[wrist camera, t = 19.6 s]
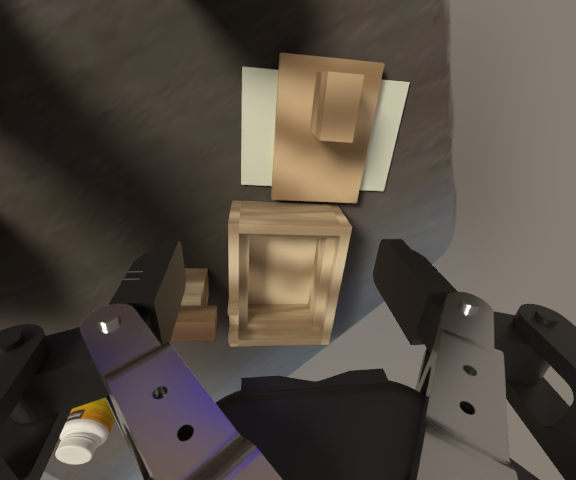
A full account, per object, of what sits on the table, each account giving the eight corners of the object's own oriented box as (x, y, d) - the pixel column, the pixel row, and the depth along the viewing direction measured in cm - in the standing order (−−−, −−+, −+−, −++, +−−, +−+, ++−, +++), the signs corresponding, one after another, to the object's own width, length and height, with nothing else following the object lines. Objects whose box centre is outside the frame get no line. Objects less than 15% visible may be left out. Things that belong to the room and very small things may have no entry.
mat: (242, 66, 28) (242, 66, 27) (407, 82, 30) (409, 82, 29) (241, 183, 33) (241, 184, 32) (382, 189, 35) (383, 191, 34)
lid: (279, 53, 27) (285, 47, 22) (379, 63, 28) (409, 60, 23) (271, 195, 33) (274, 219, 28) (353, 199, 35) (372, 222, 29)
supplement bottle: (105, 361, 43) (67, 436, 34) (137, 380, 46) (109, 454, 37) (80, 380, 44) (36, 457, 35) (113, 397, 47) (79, 473, 38)
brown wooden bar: (118, 305, 31) (101, 335, 28) (217, 305, 33) (212, 333, 29) (122, 324, 33) (106, 355, 29) (217, 323, 34) (213, 352, 30)
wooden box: (175, 198, 33) (154, 231, 26) (337, 204, 35) (358, 236, 28) (186, 312, 40) (172, 361, 33) (319, 311, 43) (332, 357, 36)
